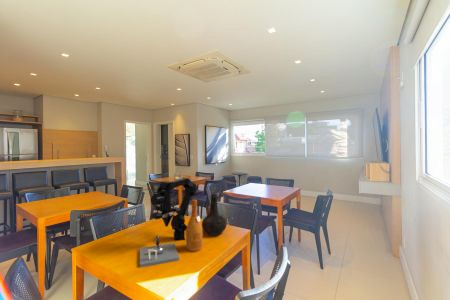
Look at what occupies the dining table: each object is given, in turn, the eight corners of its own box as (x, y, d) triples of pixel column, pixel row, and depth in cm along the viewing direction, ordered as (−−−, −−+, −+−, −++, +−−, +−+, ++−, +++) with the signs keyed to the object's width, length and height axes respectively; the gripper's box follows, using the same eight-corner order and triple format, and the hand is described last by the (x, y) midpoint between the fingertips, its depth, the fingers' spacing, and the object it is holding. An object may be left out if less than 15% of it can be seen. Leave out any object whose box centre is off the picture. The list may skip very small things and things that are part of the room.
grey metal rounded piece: (161, 245, 137) (161, 235, 137) (163, 253, 126) (163, 242, 126) (146, 247, 134) (146, 237, 134) (146, 256, 123) (146, 245, 123)
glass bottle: (211, 240, 148) (211, 198, 148) (197, 232, 162) (196, 193, 162) (231, 233, 159) (231, 194, 159) (216, 226, 173) (216, 190, 173)
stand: (173, 245, 141) (173, 234, 141) (179, 260, 122) (179, 247, 122) (139, 250, 133) (139, 238, 133) (140, 267, 115) (140, 253, 115)
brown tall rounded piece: (189, 253, 130) (189, 202, 129) (184, 246, 138) (184, 198, 138) (204, 250, 134) (204, 200, 134) (199, 243, 143) (198, 196, 142)
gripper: (170, 197, 152) (170, 220, 152) (145, 202, 138) (146, 227, 138) (181, 199, 145) (181, 223, 145) (156, 205, 131) (156, 232, 131)
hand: (166, 226), depth 140 cm, fingers closed
